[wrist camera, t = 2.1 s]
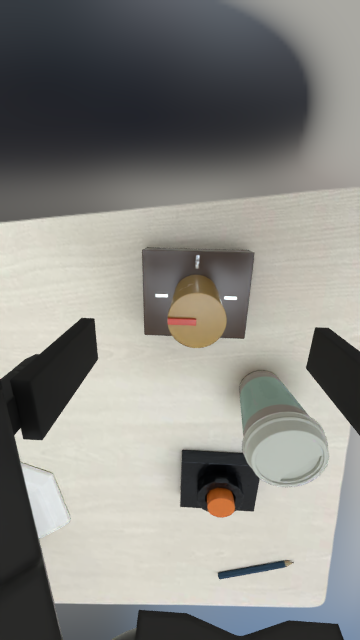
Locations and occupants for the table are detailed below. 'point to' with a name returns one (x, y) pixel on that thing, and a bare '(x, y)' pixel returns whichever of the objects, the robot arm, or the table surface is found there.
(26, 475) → the big headed doll
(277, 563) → the pencil
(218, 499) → the button
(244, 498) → the button box
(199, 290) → the lock knob
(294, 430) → the coffee cup
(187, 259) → the plate
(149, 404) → the table surface
